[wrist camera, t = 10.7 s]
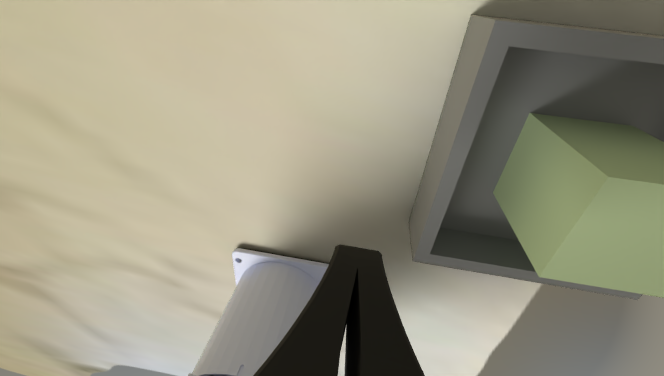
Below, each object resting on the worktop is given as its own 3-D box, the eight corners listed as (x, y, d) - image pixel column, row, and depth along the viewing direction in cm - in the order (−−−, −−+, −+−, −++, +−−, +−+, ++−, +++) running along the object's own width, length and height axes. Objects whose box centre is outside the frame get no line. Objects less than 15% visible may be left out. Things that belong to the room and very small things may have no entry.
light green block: (579, 205, 16) (664, 297, 11) (492, 192, 17) (539, 276, 12) (633, 125, 14) (773, 199, 9) (529, 113, 14) (608, 176, 9)
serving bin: (598, 253, 19) (637, 299, 16) (408, 222, 20) (412, 261, 17) (766, 47, 12) (883, 63, 9) (471, 14, 13) (495, 20, 10)
